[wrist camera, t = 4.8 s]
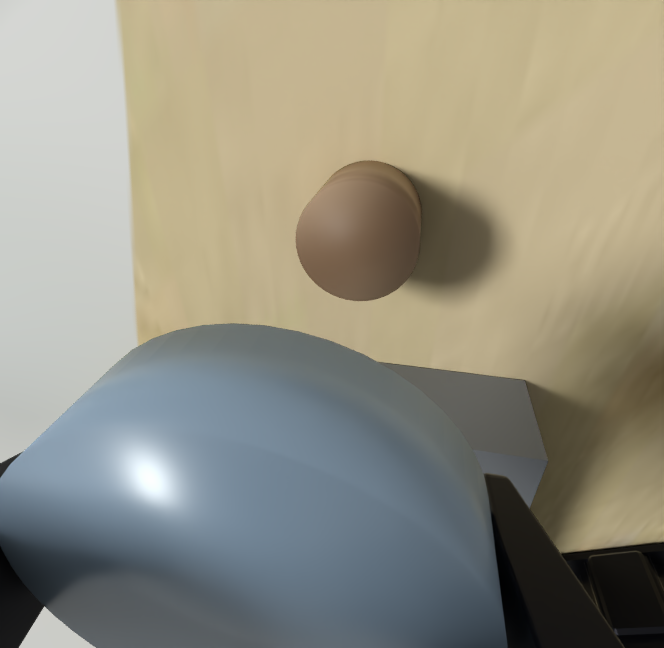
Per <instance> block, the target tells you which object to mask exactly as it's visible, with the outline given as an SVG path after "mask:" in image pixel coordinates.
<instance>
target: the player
mask: <svg viewBox="0 0 664 648" xmlns="http://www.w3.org/2000/svg"><path fill="white" fill-rule="evenodd" d="M378 363H380V362H378ZM380 364H382V365H384V366H385V367H387V368H389V369H391V370H393V371H394V372H396V373H397V374H399V375H400V376H401V377H403V378H404V379H406V380H407V381H408V382H410V383H411V384H413V385H414V386H416V387H417V388H418V389H420V390H421V391H422V392H423V393H424V394H425V395H427V396H428V397H429V398H430V399H431V400H432V401H433V402H434V403H435V404H436V405H438V406H439V407H440V408H441V409H442V410H443V411H444V412H445V413H446V415H447V416H448V417H449V418H450V419H451V420H452V422H453V423H454V424H455V425H456V426H457V428H458V429H459V430H460V431H461V432H462V434H463V435H464V437H465V439H466V440H467V442H468V443H469V445H470V447H471V448H472V450H473V452H474V453H475V455H476V457H477V460H478V462H479V465H480V467H481V470H482V472H483V474H484V473H491V474H498V475H503V476H506V477H508V478H509V479H510V481H511V482H512V484H513V485H514V486H515V488H516V489H517V491H518V492H519V494H520V495H521V497H522V498H523V500H524V501H525V503H526V504H527V505H528V507H529V508H530V506H531V504H532V501H533V498H534V496H535V493H536V491H537V488H538V486H539V483H540V481H541V478H542V476H543V473H544V471H545V468H546V465H547V463H548V458H547V455H546V451H545V448H544V444H543V441H542V438H541V434H540V431H539V427H538V424H537V420H536V417H535V414H534V410H533V407H532V403H531V400H530V396H529V393H528V390H527V386H526V383H525V380H518V379H510V378H501V377H493V376H485V375H477V374H469V373H461V372H453V371H445V370H437V369H429V368H421V367H413V366H405V365H397V364H388V363H380Z"/></svg>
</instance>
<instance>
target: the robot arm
mask: <svg viewBox="0 0 664 648" xmlns="http://www.w3.org/2000/svg"><path fill="white" fill-rule="evenodd" d="M23 452H24V451H23ZM23 452H21V453H23ZM21 453H19V454H17V455H15V456H14V457H12V458H10V459H8V460H6V461H4V462H2V463H0V478H1V476H2V475H3V474H4V472H5V471H6V469H7V468H8V467H9V465H10V464H11V463H12V462H13V461H14V460H15V459H16V458H17V457H18V456H19V455H20V454H21ZM484 477H485V482H486V487H487V492H488V497H489V504H490V512H491V520H492V528H493V536H494V543H495V551H496V559H497V567H498V575H499V583H500V590H501V598H502V606H503V614H504V622H505V630H506V637H507V648H664V543H662V544H654V545H645V546H636V547H627V548H618V549H610V550H601V551H592V552H583V553H575V554H566V555H561V554H560V552H559V551H558V549H557V548H556V546H555V545H554V544H553V542H552V541H551V539H550V538H549V536H548V535H547V533H546V532H545V530H544V529H543V527H542V526H541V524H540V523H539V522H538V520H537V519H536V517H535V516H534V514H533V513H532V511H531V510H530V508H529V507H528V505H527V504H526V503H525V501H524V500H523V498H522V497H521V495H520V494H519V492H518V491H517V489H516V488H515V486H514V485H513V484H512V482H511V481H510V479H509V478H508V477H506V476H503V475H498V474H491V473H484ZM43 607H44V605H43V604H42V603H41V602H40V601H39V600H38V599H37V598H36V597H35V596H34V595H33V594H32V592H31V591H30V590H29V589H28V588H27V587H26V586H25V585H24V583H23V582H22V581H21V579H20V578H19V576H18V575H17V574H16V572H15V571H14V569H13V568H12V567H11V565H10V563H9V561H8V560H7V558H6V556H5V554H4V552H3V551H2V548H1V546H0V648H19V646H20V645H21V643H22V641H23V640H24V638H25V637H26V635H27V633H28V632H29V630H30V628H31V627H32V625H33V623H34V622H35V620H36V619H37V617H38V615H39V614H40V612H41V611H42V609H43Z"/></svg>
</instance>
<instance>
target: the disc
mask: <svg viewBox="0 0 664 648" xmlns="http://www.w3.org/2000/svg"><path fill="white" fill-rule="evenodd" d="M0 546H1V548H2V551H3V552H4V554H5V556H6V558H7V560H8V561H9V563H10V565H11V567H12V568H13V569H14V571H15V572H16V574H17V575H18V576H19V578H20V579H21V581H22V582H23V583H24V585H25V586H26V587H27V588H28V589H29V590H30V591H31V592H32V594H33V595H34V596H35V597H36V598H37V599H38V600H39V601H40V602H41V603H42V604H43V605H44V606H45V607H46V608H47V609H48V610H49V611H50V612H51V613H52V614H53V615H54V616H56V617H57V618H58V619H59V620H60V621H62V622H63V623H64V624H66V626H68V627H69V628H70V629H71V630H72V631H74V632H75V633H77V634H78V635H79V636H81V637H82V638H83V639H85V640H86V641H87V642H89V643H90V644H92V645H93V646H95V647H96V648H507V637H506V630H505V622H504V614H503V606H502V598H501V590H500V583H499V575H498V567H497V559H496V551H495V543H494V536H493V528H492V520H491V512H490V504H489V497H488V492H487V487H486V482H485V477H484V474H483V472H482V470H481V467H480V465H479V462H478V460H477V457H476V455H475V453H474V452H473V450H472V448H471V447H470V445H469V443H468V442H467V440H466V439H465V437H464V435H463V434H462V432H461V431H460V430H459V429H458V428H457V426H456V425H455V424H454V423H453V422H452V420H451V419H450V418H449V417H448V416H447V415H446V413H445V412H444V411H443V410H442V409H441V408H440V407H439V406H438V405H436V404H435V403H434V402H433V401H432V400H431V399H430V398H429V397H428V396H427V395H425V394H424V393H423V392H422V391H421V390H420V389H418V388H417V387H416V386H414V385H413V384H411V383H410V382H408V381H407V380H406V379H404V378H403V377H401V376H400V375H399V374H397V373H396V372H394V371H393V370H391V369H389V368H387V367H385V366H384V365H382V364H380V363H378V362H376V361H374V360H373V359H371V358H369V357H367V356H365V355H363V354H361V353H359V352H356V351H354V350H351V349H349V348H347V347H344V346H342V345H339V344H337V343H335V342H332V341H329V340H326V339H322V338H319V337H315V336H312V335H309V334H305V333H302V332H299V331H293V330H287V329H282V328H276V327H271V326H265V325H249V324H234V323H233V324H215V325H202V326H196V327H191V328H186V329H181V330H176V331H173V332H170V333H167V334H165V335H162V336H159V337H156V338H153V339H151V340H149V341H147V342H146V343H144V344H142V345H140V346H138V347H137V348H135V349H133V350H132V351H130V352H129V353H128V354H127V355H125V356H124V357H123V358H122V359H121V360H119V361H118V362H117V363H116V364H115V365H114V366H113V367H112V368H111V369H110V370H109V371H107V372H106V374H104V375H103V376H102V377H101V378H100V379H99V380H98V381H97V382H96V383H95V384H94V385H93V386H92V387H91V388H90V389H89V390H88V391H87V392H85V393H84V394H83V395H82V396H81V397H80V398H79V399H78V400H77V401H76V402H75V403H74V404H73V405H72V406H71V407H70V408H69V409H68V410H67V411H66V412H65V413H64V414H62V415H61V416H60V417H59V418H58V419H57V420H56V421H55V422H54V423H53V424H52V425H51V426H50V427H49V428H48V429H47V430H46V431H45V432H44V433H43V434H42V435H40V437H38V438H37V439H36V440H35V441H34V442H33V443H32V444H31V445H30V446H29V447H28V448H27V449H26V450H25V451H24V452H23V453H21V454H20V455H19V456H18V457H17V458H16V459H15V460H14V461H13V462H12V463H11V464H10V465H9V467H8V468H7V469H6V471H5V472H4V474H3V475H2V476H1V478H0Z"/></svg>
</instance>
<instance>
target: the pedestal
mask: <svg viewBox="0 0 664 648" xmlns="http://www.w3.org/2000/svg"><path fill="white" fill-rule="evenodd" d="M421 218H422V209H421V202H420V198H419V195H418V193H417V191H416V189H415V187H414V185H413V184H412V182H411V181H410V180H409V179H408V178H407V177H406V176H405V174H403V173H402V172H401V171H399V170H398V169H396V168H395V167H393V166H391V165H388V164H386V163H382V162H378V161H360V162H355V163H352V164H349V165H347V166H345V167H343V168H341V169H340V170H338V171H337V172H336V173H334V174H333V175H332V176H331V177H330V178H329V180H328V181H327V182H326V183H325V184H324V185H323V187H322V188H321V189H320V190H319V191H318V193H317V194H316V195H315V196H314V197H313V198H312V200H311V201H310V202H309V203H308V204H307V206H306V207H305V209H304V210H303V212H302V214H301V216H300V219H299V222H298V225H297V230H296V248H297V253H298V256H299V259H300V262H301V264H302V266H303V268H304V270H305V271H306V273H307V274H308V276H309V277H310V278H311V279H312V280H313V281H314V282H315V283H316V284H317V285H318V286H319V287H321V288H322V289H323V290H325V291H326V292H328V293H330V294H332V295H334V296H337V297H339V298H343V299H346V300H353V301H369V300H374V299H378V298H381V297H384V296H386V295H388V294H390V293H392V292H394V291H395V290H397V289H398V288H399V287H400V286H401V285H403V284H404V282H405V281H406V280H407V279H408V278H409V276H410V275H411V274H412V272H413V270H414V268H415V266H416V263H417V260H418V256H419V251H420V234H421Z"/></svg>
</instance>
